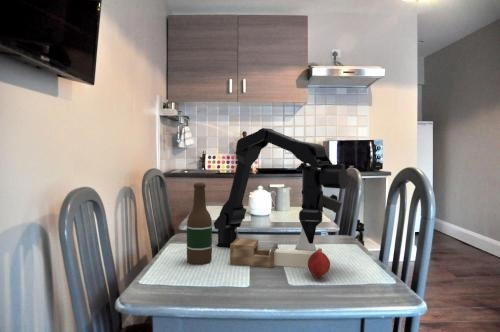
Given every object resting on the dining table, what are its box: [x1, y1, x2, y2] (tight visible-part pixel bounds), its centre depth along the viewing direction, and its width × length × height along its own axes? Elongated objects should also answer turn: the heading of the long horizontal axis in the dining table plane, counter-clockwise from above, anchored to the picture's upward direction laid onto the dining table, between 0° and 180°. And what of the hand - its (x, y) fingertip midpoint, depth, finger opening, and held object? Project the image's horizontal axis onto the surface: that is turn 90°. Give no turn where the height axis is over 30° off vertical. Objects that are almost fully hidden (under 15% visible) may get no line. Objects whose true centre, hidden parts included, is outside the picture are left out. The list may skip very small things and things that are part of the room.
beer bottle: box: [186, 182, 213, 266], centre depth 109 cm, size 8×8×24 cm
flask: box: [294, 226, 317, 251], centre depth 124 cm, size 7×7×10 cm
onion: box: [307, 247, 331, 279], centre depth 95 cm, size 6×6×8 cm
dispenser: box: [229, 237, 278, 269], centre depth 109 cm, size 13×8×6 cm, turn 78°
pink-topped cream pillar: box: [269, 247, 317, 269], centre depth 107 cm, size 14×4×4 cm, turn 78°
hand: (311, 239), depth 105 cm, fingers open, 9 cm apart
